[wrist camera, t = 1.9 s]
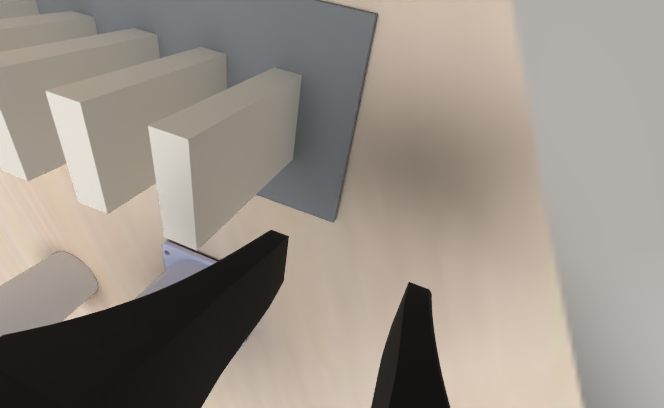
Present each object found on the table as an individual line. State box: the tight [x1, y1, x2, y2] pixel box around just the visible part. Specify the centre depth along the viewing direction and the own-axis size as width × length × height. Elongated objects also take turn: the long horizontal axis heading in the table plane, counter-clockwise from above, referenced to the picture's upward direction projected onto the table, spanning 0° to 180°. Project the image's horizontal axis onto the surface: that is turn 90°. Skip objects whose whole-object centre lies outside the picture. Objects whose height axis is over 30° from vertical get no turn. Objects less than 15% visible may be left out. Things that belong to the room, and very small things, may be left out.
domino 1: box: [0, 11, 97, 52], centre depth 20 cm, size 2×5×9 cm, turn 171°
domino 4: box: [148, 67, 302, 251], centre depth 17 cm, size 2×5×9 cm, turn 171°
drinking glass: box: [0, 251, 98, 337], centre depth 37 cm, size 7×7×10 cm
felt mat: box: [36, 0, 378, 223], centre depth 24 cm, size 12×31×1 cm, turn 81°
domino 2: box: [0, 28, 160, 181], centre depth 19 cm, size 2×5×9 cm, turn 170°
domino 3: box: [45, 47, 227, 214], centre depth 18 cm, size 2×5×9 cm, turn 171°
